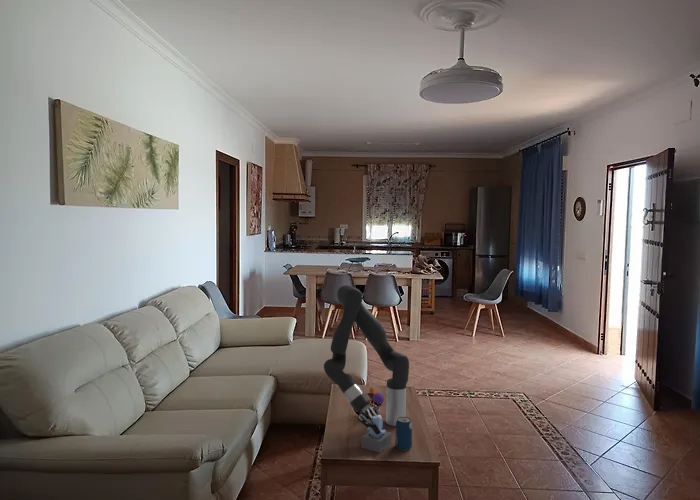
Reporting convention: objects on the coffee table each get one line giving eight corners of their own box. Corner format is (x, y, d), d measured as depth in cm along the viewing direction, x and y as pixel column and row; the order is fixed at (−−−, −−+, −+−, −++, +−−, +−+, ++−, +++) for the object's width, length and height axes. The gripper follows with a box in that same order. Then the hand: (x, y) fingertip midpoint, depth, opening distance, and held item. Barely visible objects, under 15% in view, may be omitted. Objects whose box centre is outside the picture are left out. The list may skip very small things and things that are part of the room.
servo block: (366, 441, 207) (367, 414, 206) (369, 438, 209) (370, 412, 209) (382, 445, 203) (383, 418, 202) (385, 443, 205) (386, 416, 205)
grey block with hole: (372, 439, 213) (372, 428, 213) (391, 444, 208) (391, 433, 208) (361, 447, 204) (361, 436, 204) (380, 453, 200) (380, 441, 199)
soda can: (415, 447, 205) (415, 419, 205) (404, 452, 200) (405, 423, 200) (402, 442, 210) (403, 414, 210) (391, 447, 205) (392, 419, 205)
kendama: (378, 385, 273) (386, 395, 254) (376, 396, 273) (383, 406, 253) (368, 384, 273) (375, 393, 253) (366, 394, 272) (372, 404, 252)
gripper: (353, 397, 203) (379, 433, 197) (369, 388, 215) (394, 421, 209) (342, 407, 206) (367, 442, 200) (359, 397, 218) (382, 431, 212)
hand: (380, 431), depth 205 cm, fingers closed on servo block, 3 cm apart
